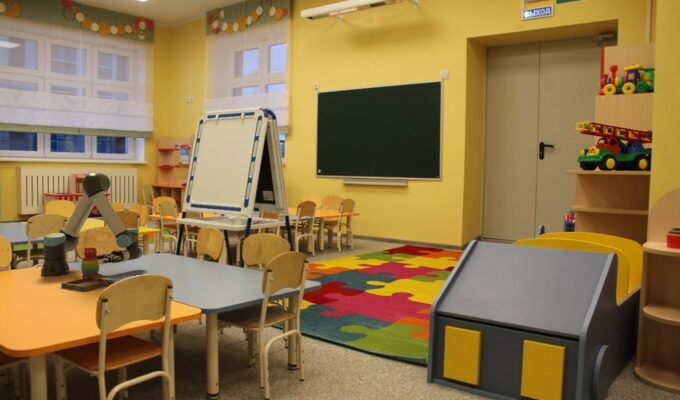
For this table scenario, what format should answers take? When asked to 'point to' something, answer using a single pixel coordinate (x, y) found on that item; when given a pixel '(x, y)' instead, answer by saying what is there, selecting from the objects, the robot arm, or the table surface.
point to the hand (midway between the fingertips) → (89, 261)
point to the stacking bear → (90, 264)
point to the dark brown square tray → (86, 284)
